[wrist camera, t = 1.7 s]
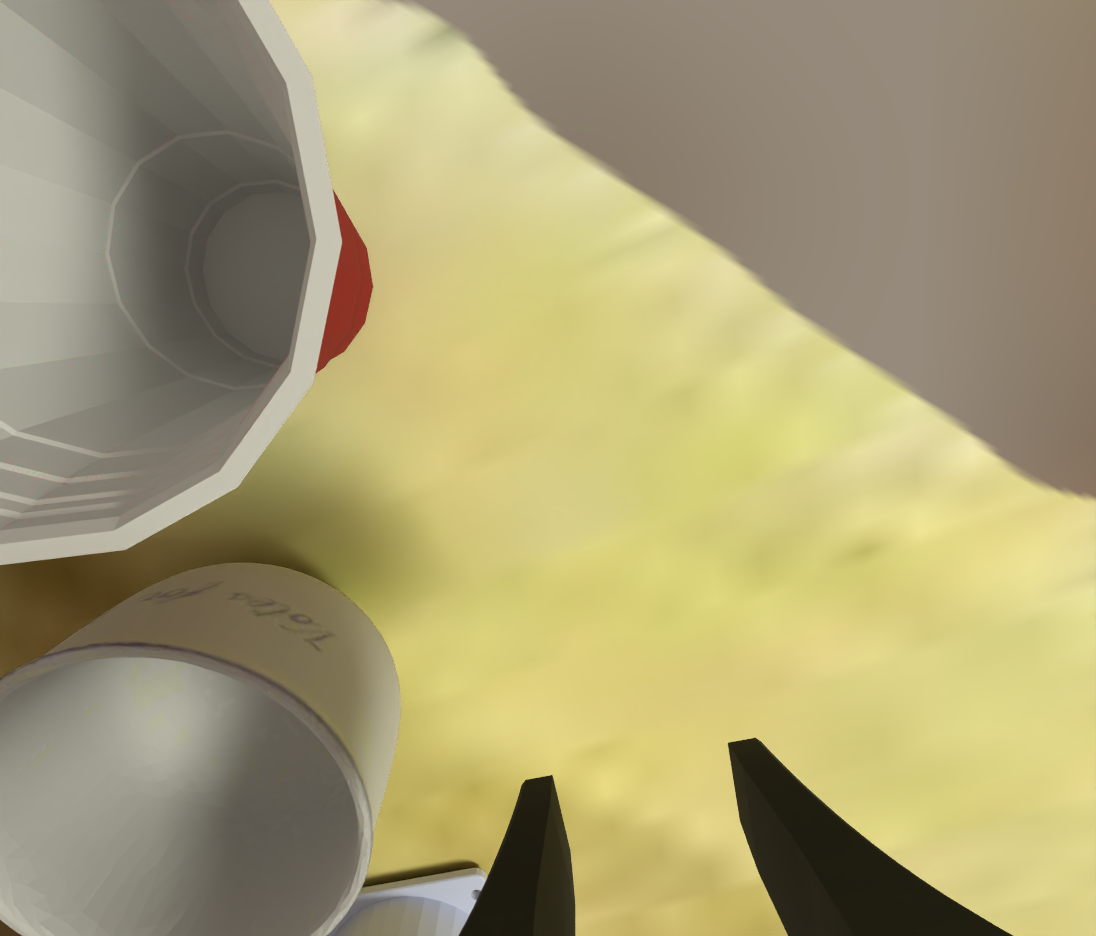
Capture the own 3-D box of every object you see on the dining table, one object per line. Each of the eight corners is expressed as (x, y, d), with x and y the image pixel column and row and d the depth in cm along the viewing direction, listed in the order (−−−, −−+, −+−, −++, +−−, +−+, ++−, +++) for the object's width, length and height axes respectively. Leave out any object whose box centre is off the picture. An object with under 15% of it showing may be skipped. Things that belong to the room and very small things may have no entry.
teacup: (396, 513, 21) (308, 617, 13) (450, 767, 23) (403, 984, 15) (26, 567, 21) (-277, 700, 13) (117, 812, 23) (-96, 1047, 16)
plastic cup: (375, 495, 21) (155, 696, 9) (85, 352, 19) (-610, 368, 8) (512, 210, 19) (460, -14, 7) (197, 32, 17) (-513, -605, 6)
